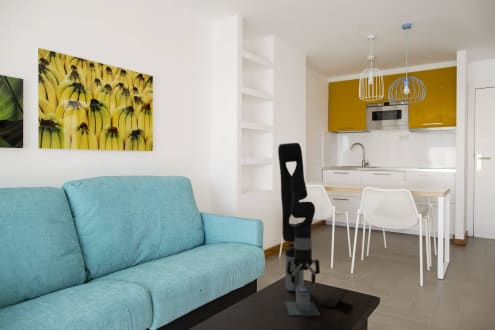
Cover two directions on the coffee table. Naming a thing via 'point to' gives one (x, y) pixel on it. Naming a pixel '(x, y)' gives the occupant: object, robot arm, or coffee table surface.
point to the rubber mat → (295, 311)
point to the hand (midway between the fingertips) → (303, 283)
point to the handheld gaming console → (332, 302)
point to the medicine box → (302, 298)
